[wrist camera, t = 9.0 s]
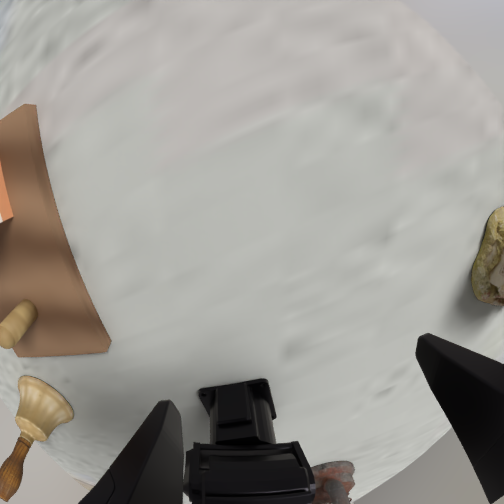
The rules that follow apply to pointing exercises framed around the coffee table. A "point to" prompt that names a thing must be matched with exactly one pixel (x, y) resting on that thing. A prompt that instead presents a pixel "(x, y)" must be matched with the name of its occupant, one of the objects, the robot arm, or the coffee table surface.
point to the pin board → (39, 257)
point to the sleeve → (4, 200)
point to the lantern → (333, 482)
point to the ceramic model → (491, 262)
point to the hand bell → (32, 427)
